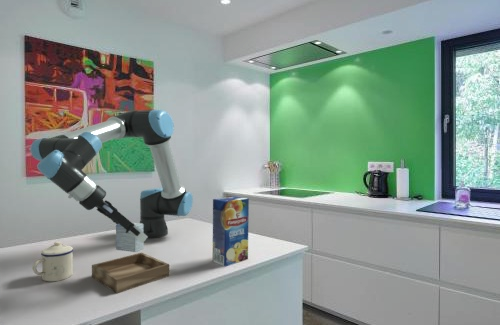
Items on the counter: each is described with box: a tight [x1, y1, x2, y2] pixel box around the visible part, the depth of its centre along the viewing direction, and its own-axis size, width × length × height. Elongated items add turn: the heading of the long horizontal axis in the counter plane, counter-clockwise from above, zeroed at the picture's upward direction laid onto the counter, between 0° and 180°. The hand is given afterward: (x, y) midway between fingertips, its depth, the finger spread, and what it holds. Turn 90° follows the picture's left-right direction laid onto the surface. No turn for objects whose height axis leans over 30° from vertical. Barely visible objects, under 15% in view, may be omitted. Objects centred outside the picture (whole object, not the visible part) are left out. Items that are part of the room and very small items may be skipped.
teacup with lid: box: [32, 240, 74, 282], centre depth 103 cm, size 12×9×12 cm
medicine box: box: [115, 222, 145, 253], centre depth 105 cm, size 8×4×9 cm, turn 71°
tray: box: [91, 252, 170, 294], centre depth 106 cm, size 18×18×4 cm
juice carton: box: [212, 196, 250, 267], centre depth 122 cm, size 12×8×24 cm, turn 134°
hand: (139, 236), depth 107 cm, fingers closed on medicine box, 9 cm apart
